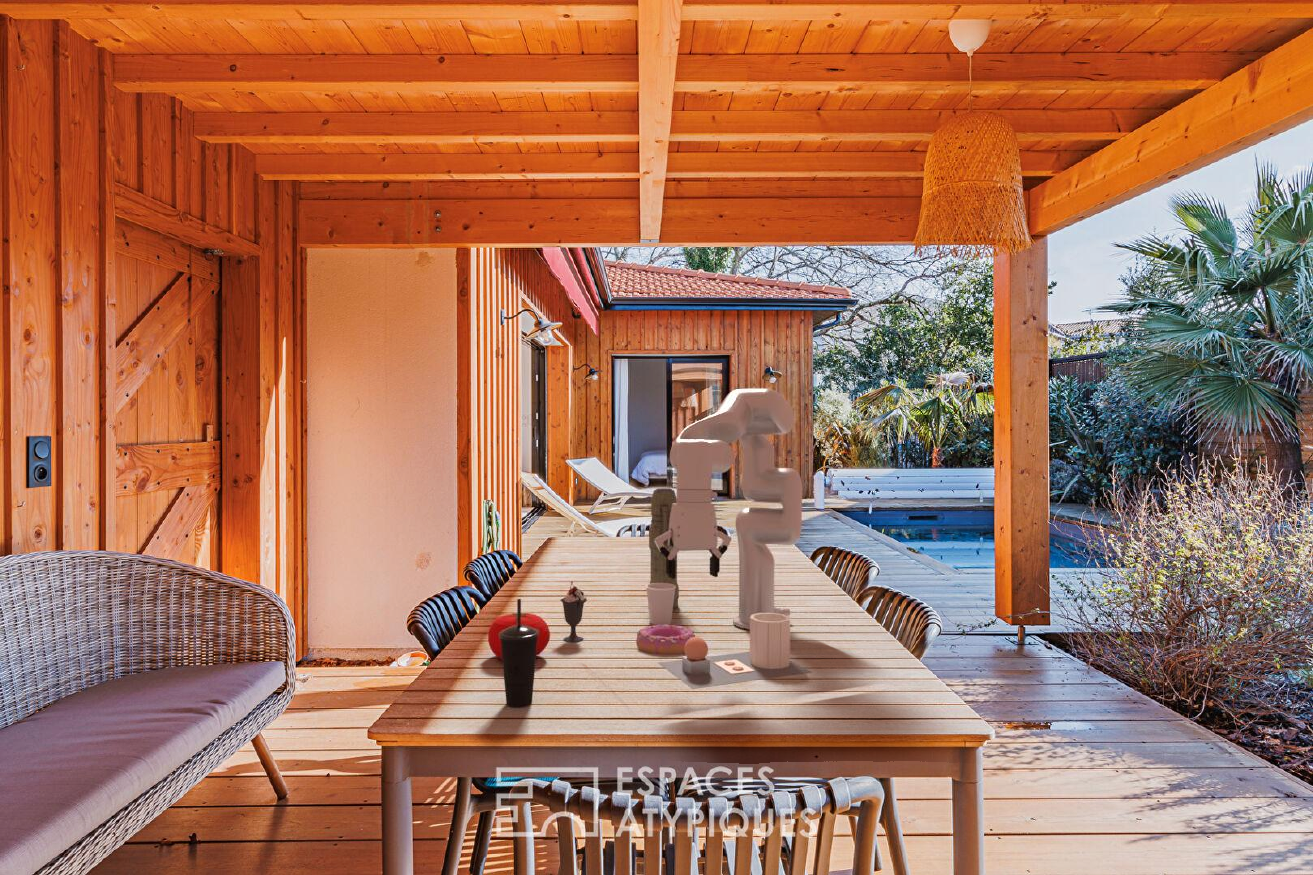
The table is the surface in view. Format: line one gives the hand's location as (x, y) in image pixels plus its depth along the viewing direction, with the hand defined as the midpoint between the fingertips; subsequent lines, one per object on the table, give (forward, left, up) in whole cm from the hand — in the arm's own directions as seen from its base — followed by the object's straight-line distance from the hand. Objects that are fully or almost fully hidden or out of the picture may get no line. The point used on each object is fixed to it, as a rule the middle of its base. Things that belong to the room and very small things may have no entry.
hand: (692, 576), depth 165 cm
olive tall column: (-18, -60, -21) cm, 66 cm away
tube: (-17, +3, -20) cm, 26 cm away
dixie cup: (-10, -43, -21) cm, 49 cm away
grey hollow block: (+1, +3, -20) cm, 20 cm away
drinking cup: (+39, +4, -21) cm, 44 cm away
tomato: (+33, -25, -21) cm, 46 cm away
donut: (-1, -18, -21) cm, 28 cm away
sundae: (+17, -35, -21) cm, 44 cm away
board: (-8, +3, -21) cm, 23 cm away
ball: (+1, +3, -15) cm, 15 cm away
